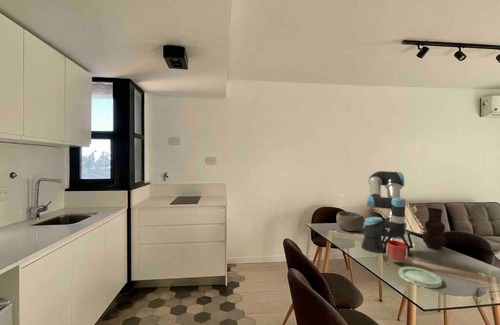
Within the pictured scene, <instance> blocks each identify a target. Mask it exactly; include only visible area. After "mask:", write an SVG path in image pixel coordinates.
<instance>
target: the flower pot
mask: <svg viewBox="0 0 500 325" xmlns="http://www.w3.org/2000/svg"><path fill="white" fill-rule="evenodd" d="M387 245H388V256H389V258H390V259H391V260H395V261H403V260H404V258H405V256H406V247H407V246H406V245H405V243H404V241H403V242H402V241H399V240H393V239H390V241H389V242H387Z"/></svg>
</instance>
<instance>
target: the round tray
mask: <svg viewBox="0 0 500 325" xmlns="http://www.w3.org/2000/svg"><path fill="white" fill-rule="evenodd" d="M398 276H399V277H400V278H401V279H402V280H403V281H405V282H406V283H407V282H408V283H409V282H412V283H414V284H415V285H414V284H413V285H414V286H418V287H422V288H425V289H427V288H428V289H437V288H441V287H442V285H443V281H442V278H441V277H440V276H439V275H437V274H436V273H435V272H432V271H429V270H426V269H423V268H420V267H419V268H418V267H414V266H402V267H400V268H398Z"/></svg>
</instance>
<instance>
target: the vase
mask: <svg viewBox="0 0 500 325" xmlns="http://www.w3.org/2000/svg"><path fill="white" fill-rule="evenodd" d="M427 210H428V220H426V221H425V222H424V229H425V232H422V234H421V239H422V241H423V243H424V244H425V246H426V247H427V248H428V249H430V250H434V249H435V250H436V251H440V250H441V249H442V248H444V247H445V246H446V244H447V243H448V240H447V239H448V238H447V237H446V235H444V232H445V231H446V226H445V224H444V223H443V222H442V215H443V209H441V208H434V207H429V208H428V207H427ZM439 249H440V250H439ZM435 250H434V251H435Z"/></svg>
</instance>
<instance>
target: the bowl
mask: <svg viewBox="0 0 500 325" xmlns="http://www.w3.org/2000/svg"><path fill="white" fill-rule="evenodd" d="M335 218H336V223H337V225H338V226H339V228H340V229H341V230H343V231H347V232H356V231H359V230H362V228H363V227H364V226H365V225H364V224H365V217H364V215H363V214H361V213H357V212H353V211H338V212H337V214H336V217H335Z"/></svg>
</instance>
